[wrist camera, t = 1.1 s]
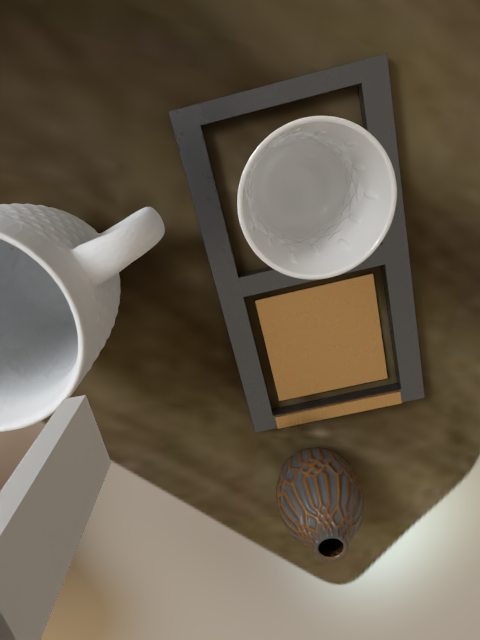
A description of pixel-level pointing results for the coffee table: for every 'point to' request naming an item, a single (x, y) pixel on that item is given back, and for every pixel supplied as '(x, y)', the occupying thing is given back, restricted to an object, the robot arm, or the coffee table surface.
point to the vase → (320, 501)
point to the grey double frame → (314, 302)
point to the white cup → (317, 197)
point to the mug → (58, 301)
